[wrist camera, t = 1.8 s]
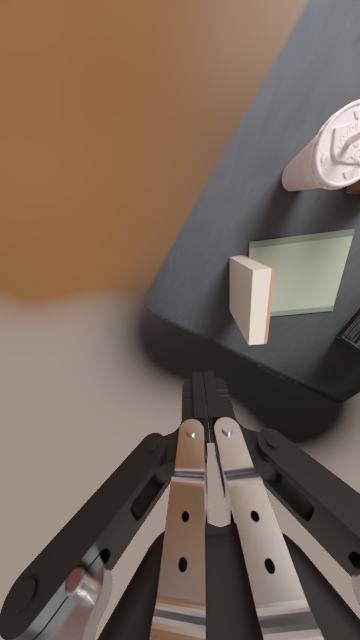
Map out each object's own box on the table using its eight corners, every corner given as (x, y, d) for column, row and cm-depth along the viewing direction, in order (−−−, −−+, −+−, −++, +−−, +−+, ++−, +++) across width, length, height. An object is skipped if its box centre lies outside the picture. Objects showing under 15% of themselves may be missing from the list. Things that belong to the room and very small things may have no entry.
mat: (353, 228, 28) (355, 228, 28) (331, 310, 34) (332, 310, 34) (249, 241, 29) (249, 242, 29) (245, 317, 35) (246, 318, 35)
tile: (243, 255, 30) (275, 267, 20) (242, 309, 35) (266, 343, 24) (229, 256, 30) (253, 270, 20) (229, 310, 35) (248, 345, 24)
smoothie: (296, 133, 23) (424, 19, 11) (329, 166, 25) (476, 98, 12) (262, 184, 26) (333, 140, 13) (293, 211, 27) (385, 194, 15)
